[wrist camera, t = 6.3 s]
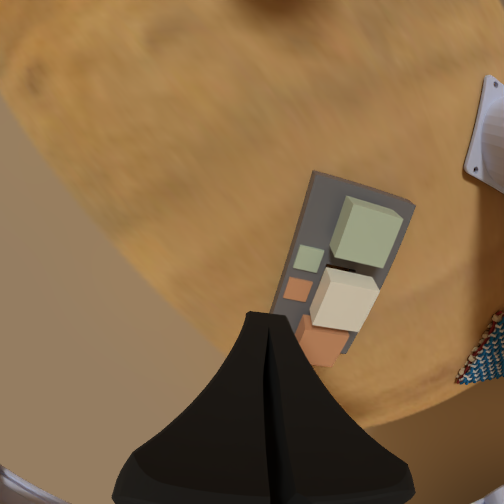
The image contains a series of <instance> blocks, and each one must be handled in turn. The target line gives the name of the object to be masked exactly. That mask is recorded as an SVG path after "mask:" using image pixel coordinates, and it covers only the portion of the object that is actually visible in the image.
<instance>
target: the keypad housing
mask: <svg viewBox="0 0 504 504" xmlns="http://www.w3.org/2000/svg"><path fill="white" fill-rule="evenodd" d="M346 196H350V197H353V198H357V199H360V200H363V201H367V202H370V203H373V204H376V205H380V206H383V207H386V208H389V209H392V210H394V211H395V212H396V213H397V214H398V215H399V216H400V217H402V218H403V222H402V224H401V227H400V229H399V232H398V234H397V237H396V239H395V242H394V244H393V247H392V249H391V251H390V254H389V256H388V258H387V260H386V263H385V265H384V267H383V268H379V267H375V266H371V265H367V264H362V263H358V262H354V261H349V260H345V259H341V258H336V257H334V254H333V252H332V250H331V247H330V242H331V239H332V236H333V233H334V230H335V227H336V225H337V222H338V219H339V216H340V213H341V210H342V207H343V204H344V201H345V198H346ZM415 207H416V205H414V204H413V203H412V202H410V201H409V200H407V199H404V198H401V197H398V196H396V195H393V194H390V193H387V192H384V191H381V190H378V189H375V188H371V187H368V186H365V185H362V184H359V183H356V182H352V181H349V180H346V179H342V178H339V177H335V176H332V175H328V174H325V173H321V172H318V171H314V170H313V171H312V175H311V178H310V182H309V185H308V189H307V192H306V196H305V199H304V203H303V206H302V210H301V213H300V216H299V220H298V223H297V226H296V230H295V233H294V236H293V240H292V243H291V246H290V250H289V253H288V256H287V259H286V263H285V266H284V269H283V272H282V275H281V278H280V282H279V285H278V288H277V291H276V294H275V297H274V300H273V303H272V306H271V310H270V314H279V315H285V316H286V317H287V318H288V321H289V323H290V326H291V328H292V330H293V332H294V334H295V333H296V330H297V328H298V325H299V323H300V320H301V318H302V316H303V314H304V315H310V306H311V304H312V301H313V299H314V297H315V294H316V291H317V289H318V286H319V284H320V283H319V282H320V280H321V277H322V275H323V272H324V269H325V267H326V264H330V265H335V266H339V267H344V268H348V269H349V271H348V272H351V273H356V274H360V275H365V276H370V277H372V278H373V279H374V281H375V283H376V285H377V287H378V289H379V290H380V289H381V287H382V285H383V283H384V280H385V278H386V276H387V274H388V272H389V270H390V267H391V265H392V263H393V261H394V259H395V256H396V254H397V252H398V249H399V247H400V245H401V242H402V240H403V237H404V235H405V233H406V230H407V228H408V225H409V223H410V220H411V217H412V215H413V212H414V210H415ZM310 316H311V315H310ZM348 333H349V338H348V340H347V342H346V343H345V345H344V347H343V349H342V351H341V352H340V353H342V354H346V353H347V351H348V349H349V348H350V346H351V344H352V342H353V341H354V339H355V337H356V335H357V333H358V332H355V331H348Z"/></svg>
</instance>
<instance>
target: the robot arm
mask: <svg viewBox="0 0 504 504" xmlns="http://www.w3.org/2000/svg"><path fill="white" fill-rule="evenodd" d="M494 83H495V87H494ZM474 167H475V172H474V171H473V170H474ZM464 170H465V172H466V173H468V174H470V175H472V176H474V177H475V178H477V179H479V180H481V181H483V182H484V183H486V184H488V185H490V186H491V187H493V188H495V189H496V190H498V191H500V192H501V193H503V194H504V85H503V84H502V83H501V82H499V81H498V80H497V79H496V78H494V77H493V76H491V75H486V76H485V78H484V83H483V89H482V95H481V100H480V105H479V110H478V114H477V119H476V123H475V127H474V131H473V135H472V139H471V143H470V146H469V150H468V154H467V157H466V160H465V164H464ZM414 494H415V488H414V484H413V479H412V475H411V473H410V470H409V467H408V464H407V463H405V462H404V461H402V460H401V459H399V458H398V457H397V456H395V455H394V454H392V453H391V452H389V451H388V450H387V449H385V448H384V447H382V446H381V445H380V444H379V443H378V442H376V441H375V440H374V439H373V438H371V437H370V436H369V435H368V434H367V433H366V432H365V431H364V430H363V429H362V428H361V427H360V426H359V425H358V424H357V423H356V422H355V421H354V420H353V419H352V418H351V417H350V416H349V415H348V414H347V413H346V412H345V411H344V409H343V408H342V407H341V406H340V405H339V404H338V403H337V401H336V400H335V399H334V398H333V396H332V395H331V394H330V392H329V391H328V390H327V388H326V387H325V386H324V384H323V383H322V381H321V380H320V378H319V377H318V375H317V374H316V372H315V371H314V369H313V368H312V366H311V364H310V363H309V361H308V359H307V357H306V356H305V354H304V352H303V350H302V348H301V346H300V345H299V343H298V341H297V339H296V337H295V334H294V332H293V330H292V328H291V326H290V323H289V321H288V318H287V317H286V316H285V315H279V314H270V313H261V312H253V311H249V312H248V313H246V318H245V321H244V325H243V327H242V330H241V332H240V334H239V336H238V338H237V340H236V342H235V344H234V346H233V348H232V350H231V351H230V353H229V355H228V356H227V358H226V359H225V361H224V363H223V364H222V366H221V367H220V369H219V370H218V372H217V373H216V375H215V376H214V377H213V378H212V380H211V381H210V382H209V384H208V385H207V386H206V387H205V389H204V390H203V391H202V392H201V393H200V394H199V395H198V397H197V398H196V399H195V400H194V401H193V402H192V403H191V404H190V405H189V406H188V407H187V408H186V409H185V410H184V411H183V412H182V413H181V414H180V415H179V416H178V417H177V418H176V419H174V420H173V421H172V422H171V423H170V424H169V425H168V426H167V427H165V428H164V429H163V430H162V431H161V432H159V433H158V434H157V435H156V436H154V437H153V438H151V439H150V440H149V441H147V442H146V443H144V444H143V445H142V446H140V447H139V448H137V449H136V450H135V451H134V452H132V454H131V455H130V457H129V458H128V460H127V461H126V463H125V464H124V466H123V468H122V469H121V471H120V474H119V476H118V478H117V480H116V484H115V487H114V491H113V494H112V499H113V501H114V502H115V504H404V503H405V502H407V501H408V500H410V499H411V498H412V497H413V496H414ZM0 504H71V503H68V502H66V501H64V500H62V499H60V498H58V497H56V496H54V495H52V494H50V493H48V492H46V491H44V490H42V489H40V488H38V487H37V486H35V485H33V484H31V483H29V482H28V481H26V480H24V479H23V478H21V477H19V476H18V475H16V474H14V473H13V472H11V471H9V470H8V469H7V468H5V467H3V466H2V465H0ZM471 504H504V485H502V486H500V487H499V488H497V489H495V490H494V491H492V492H491V493H489V494H487V495H486V496H485V497H484V498H482V499H480V500H478V501H476V502H473V503H471Z"/></svg>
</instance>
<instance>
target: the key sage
mask: <svg viewBox="0 0 504 504" xmlns="http://www.w3.org/2000/svg"><path fill="white" fill-rule="evenodd" d="M402 222H403V218H402V217H400V216H399V215H398V214H397V213H396V212H395V211H394V210H392V209H389V208H386V207H383V206H380V205H376V204H373V203H370V202H367V201H363V200H360V199H357V198H353V197H350V196H346V198H345V201H344V204H343V207H342V210H341V213H340V216H339V219H338V222H337V225H336V227H335V230H334V233H333V236H332V239H331V242H330V247H331V250H332V252H333V254H334V257H336V258H341V259H345V260H349V261H354V262H358V263H362V264H367V265H371V266H375V267H379V268H383V267H384V265H385V263H386V260H387V258H388V256H389V254H390V251H391V249H392V247H393V244H394V242H395V239H396V237H397V234H398V232H399V229H400V227H401V224H402Z"/></svg>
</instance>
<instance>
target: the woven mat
mask: <svg viewBox="0 0 504 504" xmlns="http://www.w3.org/2000/svg"><path fill="white" fill-rule="evenodd" d="M492 320H493V323H491V324H489V325H488V328H490V331H485V332H484V333H483V335H482V337H483V338H484V339H481V340H480V341H479V342H478V343H479V344H481V346H480V347H474V348H473V349H472V352H473V351H476V352H475V353H473V354H472V355H470V356H469V358H468V360H469V361H466V363H465V364H464V365H468V366H467V367H465V368H461V369H460V371H459V375H457V376H456V377H455V378H459V379H458V380H457V384H459V383H460V384H463V383H465V385H468V383H471V382H473V383H476V381H477V382H478V381H480V380H481V381H482V382H483V381H484V379H485V380H487V379H489V380H491V379H492V378H495V377H496V378H497V379H498V378H499V377H501V376H503V377H504V313H502V311H499V312H497V313H496V314H494V315H493V317H492ZM497 322H498V323H497ZM493 337H494V338H493ZM470 366H471V367H470ZM460 381H461V382H460Z"/></svg>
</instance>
